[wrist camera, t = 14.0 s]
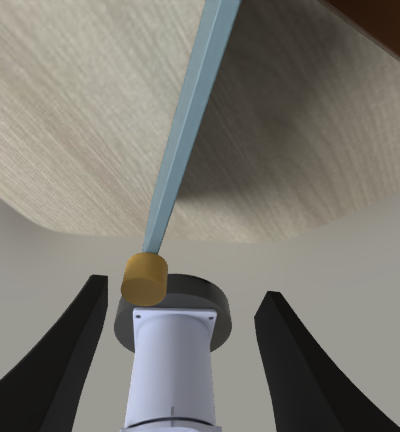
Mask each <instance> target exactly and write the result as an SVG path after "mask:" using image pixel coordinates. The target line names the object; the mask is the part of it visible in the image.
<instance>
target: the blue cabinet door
mask: <svg viewBox="0 0 400 432" xmlns="http://www.w3.org/2000/svg"><path fill="white" fill-rule="evenodd" d="M241 1H242V0H206V2H205V5H204V9H203V13H202V17H201V20H200V24H199V28H198V31H197V35H196V39H195V42H194V46H193V50H192V53H191V57H190V61H189V64H188V68H187V72H186V75H185V79H184V83H183V87H182V90H181V94H180V98H179V101H178V105H177V109H176V112H175V116H174V120H173V123H172V127H171V131H170V134H169V138H168V142H167V146H166V149H165V153H164V157H163V160H162V164H161V168H160V171H159V175H158V179H157V182H156V186H155V190H154V193H153V197H152V201H151V206H150V211H149V217H148V222H147V228H146V233H145V238H144V244H143V249H142V253H139V254H136V255H134V256H132V257H131V258H130V259H129V260H128V262H127V265H126V269H125V274H124V278H123V282H122V286H121V294H122V296H123V298H124V299H125V300H126V301H128V302H129V303H131V304H134V305H138V306H152V305H155V304H158V303H159V302H161V301H162V300H163V299H164V297H165V296H166V289H167V274H168V265H167V263H166V261H165V260H164V259H163V258H162V257H161V256H159V255H158V252H159V249H160V246H161V243H162V240H163V237H164V234H165V231H166V228H167V225H168V222H169V219H170V216H171V213H172V210H173V207H174V204H175V201H176V198H177V195H178V192H179V189H180V186H181V183H182V180H183V176H184V173H185V170H186V167H187V164H188V161H189V158H190V155H191V152H192V149H193V146H194V143H195V140H196V137H197V134H198V131H199V128H200V125H201V122H202V119H203V116H204V113H205V110H206V107H207V104H208V101H209V98H210V95H211V92H212V89H213V86H214V83H215V80H216V77H217V74H218V71H219V68H220V65H221V62H222V58H223V55H224V52H225V49H226V46H227V43H228V40H229V37H230V34H231V31H232V28H233V25H234V22H235V19H236V16H237V13H238V10H239V7H240V4H241Z"/></svg>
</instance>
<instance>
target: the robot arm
mask: <svg viewBox="0 0 400 432" xmlns="http://www.w3.org/2000/svg"><path fill="white" fill-rule="evenodd" d="M107 307H108V276H103V275H91V276H90V277H89V279H88V281H87V282H86V284H85V285H84V287H83V288H82V290H81V291H80V292H79V294H78V295H77V297H76V298H75V299H74V301H73V302H72V303H71V304H70V306H69V307H68V308H67V309H66V311H65V312H64V313H63V314H62V316H61V317H60V318H59V319H58V321H57V322H56V323H55V324H54V325H53V326H52V327H51V329H50V330H49V331H48V332H47V333H46V334H45V335H44V337H43V338H42V339H41V340H40V341H39V342H38V343H37V344H36V345H35V346H34V347H33V348H32V350H31V351H30V352H29V353H28V354H27V355H26V356H25V357H24V358H23V359H22V360H21V361H20V362H19V363H18V364H17V365H16V366H15V367H14V368H13V369H11V370H10V371H9V372H8V373H7V374H6V375H5V376H4V377H3V378H2V379H1V380H0V432H72V428H73V423H74V419H75V415H76V411H77V407H78V403H79V399H80V396H81V392H82V389H83V386H84V382H85V379H86V377H87V374H88V371H89V367H90V365H91V362H92V359H93V356H94V353H95V350H96V347H97V344H98V341H99V338H100V335H101V332H102V329H103V325H104V320H105V316H106V312H107ZM216 317H217V311H216V310H215V309H196V308H156V307H136V308H134V310H133V324H134V341H135V358H134V364H133V371H132V378H131V384H130V391H129V399H128V405H127V412H126V418H125V425H124V428H121V429H120V431H119V432H222V428H221V427H219V426H216V419H215V406H214V393H213V382H212V369H211V356H210V342H211V338H212V334H213V329H214V325H215V321H216ZM254 319H255V329H256V336H257V342H258V346H259V350H260V354H261V358H262V362H263V366H264V370H265V374H266V378H267V382H268V386H269V390H270V395H271V399H272V405H273V410H274V417H275V424H276V430H277V432H400V427H399V426H397V425H396V424H395V423H394V422H393V421H392V420H391V419H390V418H388V417H387V416H386V415H385V414H384V413H383V412H382V411H381V410H379V408H378V407H376V406H375V405H374V404H373V403H372V402H371V401H370V400H369V399H368V398H367V397H366V396H365V395H364V394H363V393H362V392H361V391H360V390H359V389H358V388H357V387H356V386H355V385H354V384H353V383H352V382H351V381H350V380H349V379H348V377H346V375H345V374H344V373H343V372H342V371H341V370H340V369H339V368H338V367H337V366H336V364H335V363H334V362H333V361H332V360H331V359H330V357H329V356H328V355H327V354H326V353H325V351H324V350H323V349H322V348H321V347H320V345H319V344H318V343H317V341H316V340H315V339H314V338H313V336H312V335H311V334H310V333H309V332H308V330H307V329H306V327H305V326H304V325H303V323H302V322H301V321H300V319H299V318H298V316H297V315H296V314H295V312H294V311H293V309H292V308H291V307H290V305H289V304H288V302H287V301H286V300H285V298H284V297H283V295H282V294H281V293H280V292H274V291H267V293H266V295H265V297H264V299H263V301H262V303H261V305H260V307H259V309H258V311H257V313H256V315H255V316H254Z"/></svg>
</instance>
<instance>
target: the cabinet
mask: <svg viewBox="0 0 400 432" xmlns="http://www.w3.org/2000/svg"><path fill="white" fill-rule="evenodd" d="M318 1H319V2H320V3H322V4H323V5H324V6H326V7H327V8H328V9H330V10H331V11H332V12H334V13H335V14H336V15H338V16H339V17H340V18H342V19H343V20H344V21H346V22H347V23H349V24H350V25H351V26H353V27H354V28H355V29H357V30H358V31H359V32H361V33H362V34H363V35H365V36H366V37H367V38H369V39H370V40H371V41H373V42H374V43H375V44H377V45H378V46H379V47H381V48H382V49H383V50H385V51H386V52H388V53H389V54H390V55H392V56H393V57H394V58H396V59H397V60H398V61H400V0H318Z"/></svg>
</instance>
